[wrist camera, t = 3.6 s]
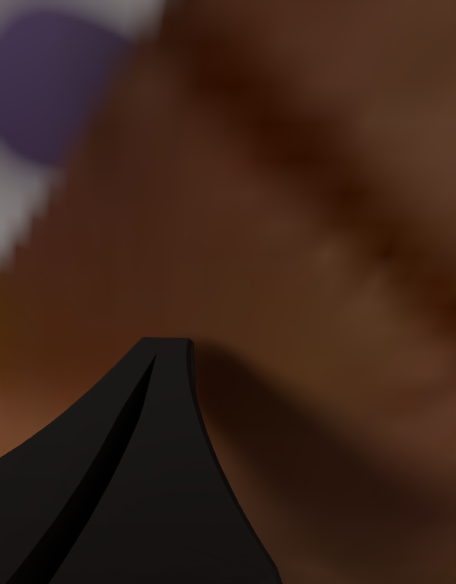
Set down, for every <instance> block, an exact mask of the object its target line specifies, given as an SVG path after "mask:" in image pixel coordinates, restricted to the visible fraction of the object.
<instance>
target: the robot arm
mask: <svg viewBox="0 0 456 584" xmlns="http://www.w3.org/2000/svg"><path fill="white" fill-rule="evenodd" d="M0 584H282V581H281V578H280V575H279V572H278V569H277V567H276V565H275V563H274V562H273V560H272V559H271V557H270V556H269V554H268V552H267V551H266V549H265V548H264V546H263V544H262V543H261V541H260V539H259V538H258V536H257V535H256V533H255V531H254V530H253V528H252V526H251V524H250V523H249V521H248V519H247V517H246V515H245V514H244V512H243V510H242V508H241V506H240V505H239V503H238V501H237V499H236V497H235V495H234V493H233V491H232V489H231V487H230V485H229V483H228V481H227V478H226V476H225V474H224V472H223V470H222V468H221V466H220V464H219V461H218V459H217V456H216V454H215V452H214V449H213V447H212V444H211V441H210V439H209V436H208V433H207V431H206V428H205V425H204V422H203V418H202V415H201V412H200V408H199V405H198V401H197V397H196V381H195V362H194V344H193V341H191V340H190V339H189V338H151V337H143V338H142V339H140V340H139V341H138V342H137V343H136V344H135V345H134V346H133V347H132V348H131V349H130V350H129V351H128V352H127V353H126V354H125V356H124V357H123V358H122V359H121V360H120V361H119V362H118V363H117V364H116V365H115V366H114V367H113V368H112V369H111V370H110V371H109V372H108V373H107V374H106V375H104V376H103V377H102V378H101V379H100V380H99V381H98V382H97V383H96V384H95V385H94V386H93V387H92V388H91V389H90V390H89V391H88V392H87V393H85V394H84V395H83V396H82V397H81V398H80V399H79V400H77V401H76V402H75V403H74V404H73V405H72V406H70V407H69V408H68V409H67V410H66V411H65V412H64V413H62V414H61V415H60V416H59V417H57V418H56V419H55V420H54V421H52V422H51V423H50V424H48V425H47V426H46V427H44V428H43V429H42V430H40V431H39V432H37V433H36V434H35V435H33V436H32V437H31V438H29V439H28V440H26V441H25V442H24V443H22V444H21V445H19V446H18V447H16V448H15V449H13V450H11V451H10V452H8V453H7V454H5V455H4V456H2V457H1V458H0Z"/></svg>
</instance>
